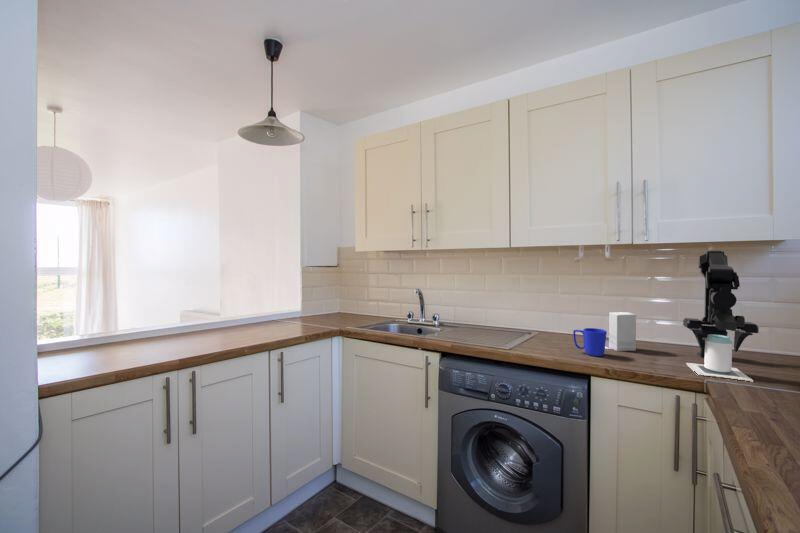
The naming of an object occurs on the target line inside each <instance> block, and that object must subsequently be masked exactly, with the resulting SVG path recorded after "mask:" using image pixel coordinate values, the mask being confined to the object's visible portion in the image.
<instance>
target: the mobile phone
mask: <svg viewBox="0 0 800 533" xmlns="http://www.w3.org/2000/svg"><path fill="white" fill-rule="evenodd" d="M605 349H606V350H614V349H613V348H612V347H610V346H609V339H606V342H605Z"/></svg>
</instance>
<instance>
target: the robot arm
mask: <svg viewBox="0 0 800 533" xmlns="http://www.w3.org/2000/svg"><path fill="white" fill-rule="evenodd" d="M728 259H729V257H728V256H727V255H725V251H724V250H723V251H722V250H709V251H706V252H705V253H704V254H702V255H700V256H699V257H698V263H697V264H698V265H697V266H698V268H697V269H699V271H700V274H701V276H702V277H703V278H704V316H702V317H701V319H699V318H693V317H692V318H691V317H685V318H684V319H683V321H682V322H683V324H682V326H684V327H685V328H687V329H689V331H692V333H693V334H694V337H695V339H696V342H697V344H698V346H699V349H700V350H699V351H700V352H699V351H698V352H697V353H696V354H697V355H698V356H700V357H701V358H704V357H705V339H706V338H707V337H708V335H710V334H713V335H723V336H727V337H728V331H731V332H734V340H733V350H734V351H733V352H735V353H737V352H738V351H739V349H740V348H741V345H742V344H743V342H744V341H745V339H746V338H747V337H749V336H753V335H754V334H759V329H760V328H759V325H758V324H756V323H753V322H751V321H746V320H745V316H744V315H733V309H732V308H733V307H734V306H736V304H737V297H736V295H735V294H734V293H733V292H732V290H738V289H739V288H740V287H741V284H740V278H739V277H740V276H739V275H738V273H737V271H735V270H734V268H733V267H732V266H729V265H728V263H729V262H728Z"/></svg>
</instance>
